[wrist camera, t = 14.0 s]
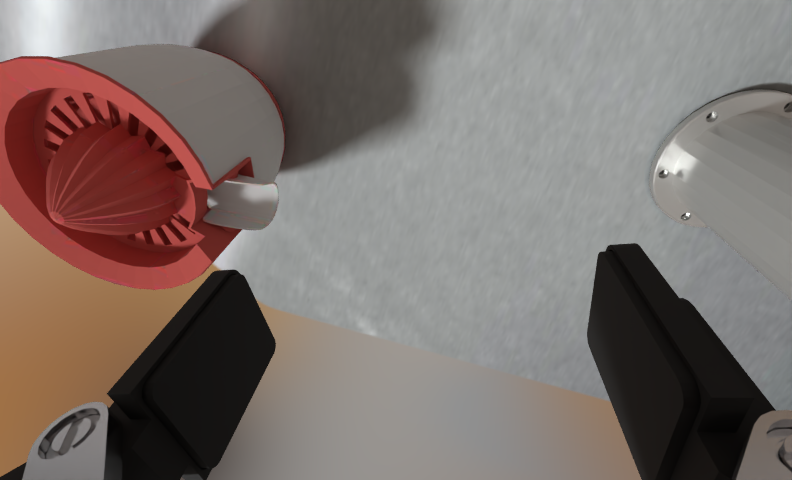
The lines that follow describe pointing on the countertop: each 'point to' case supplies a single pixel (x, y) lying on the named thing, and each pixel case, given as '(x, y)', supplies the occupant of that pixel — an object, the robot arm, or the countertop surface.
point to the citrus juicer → (138, 158)
